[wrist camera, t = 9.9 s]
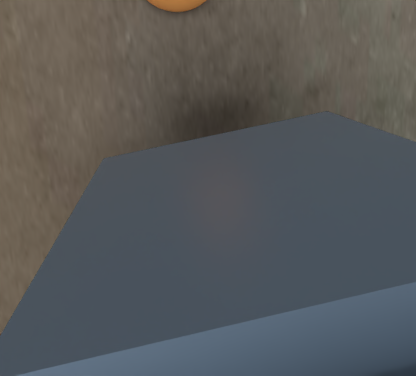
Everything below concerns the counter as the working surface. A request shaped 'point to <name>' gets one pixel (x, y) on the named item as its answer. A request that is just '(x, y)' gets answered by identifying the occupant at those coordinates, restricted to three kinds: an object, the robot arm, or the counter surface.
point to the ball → (176, 4)
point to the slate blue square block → (233, 260)
